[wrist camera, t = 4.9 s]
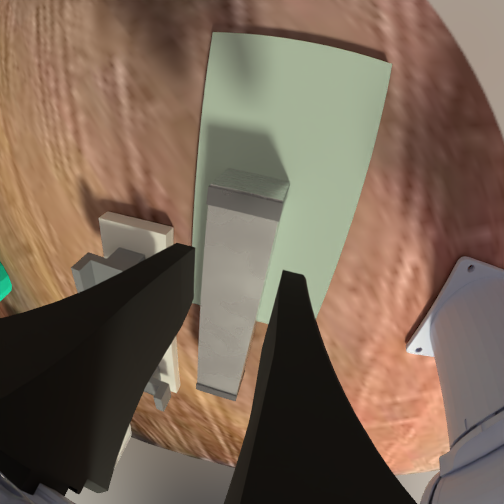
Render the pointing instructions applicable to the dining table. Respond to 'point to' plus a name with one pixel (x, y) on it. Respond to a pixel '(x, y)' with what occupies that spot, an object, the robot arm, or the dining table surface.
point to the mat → (291, 144)
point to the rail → (235, 273)
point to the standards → (120, 259)
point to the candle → (4, 283)
